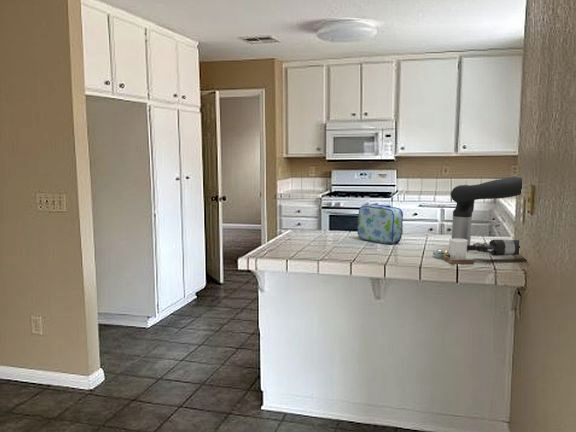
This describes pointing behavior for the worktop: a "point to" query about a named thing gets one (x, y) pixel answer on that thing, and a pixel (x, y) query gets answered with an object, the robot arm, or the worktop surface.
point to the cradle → (453, 262)
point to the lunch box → (380, 223)
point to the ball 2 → (445, 252)
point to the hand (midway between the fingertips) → (466, 247)
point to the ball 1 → (439, 251)
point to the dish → (439, 255)
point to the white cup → (458, 249)
